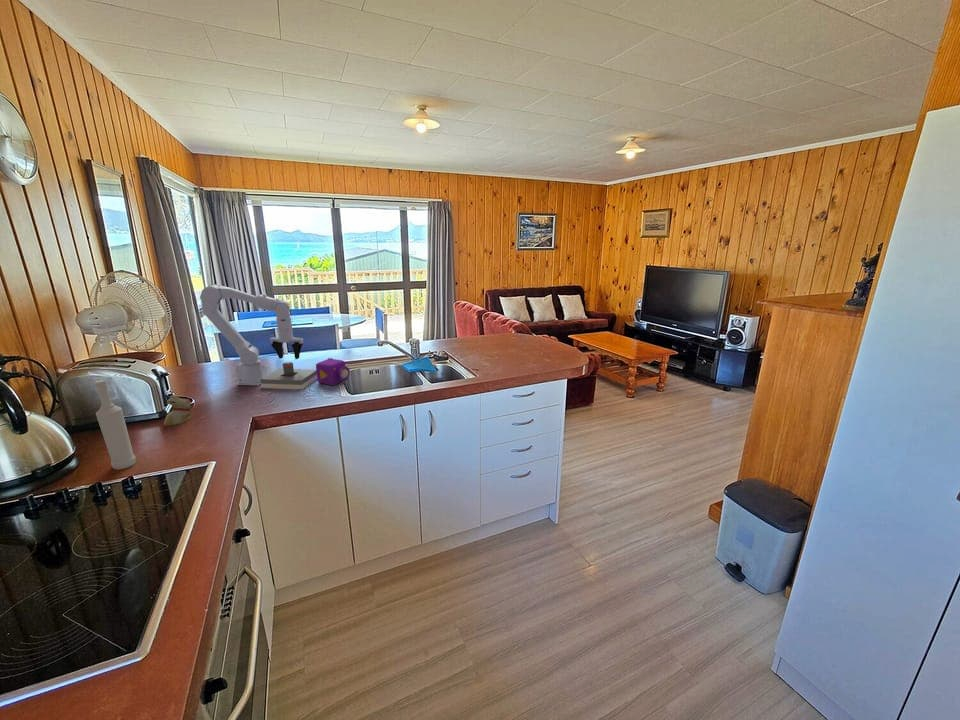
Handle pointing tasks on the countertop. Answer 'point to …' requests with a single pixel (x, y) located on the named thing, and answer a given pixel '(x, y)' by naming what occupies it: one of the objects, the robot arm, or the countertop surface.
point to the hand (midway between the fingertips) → (289, 358)
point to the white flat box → (289, 379)
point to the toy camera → (332, 371)
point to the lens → (288, 369)
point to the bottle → (114, 430)
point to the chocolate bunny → (177, 411)
